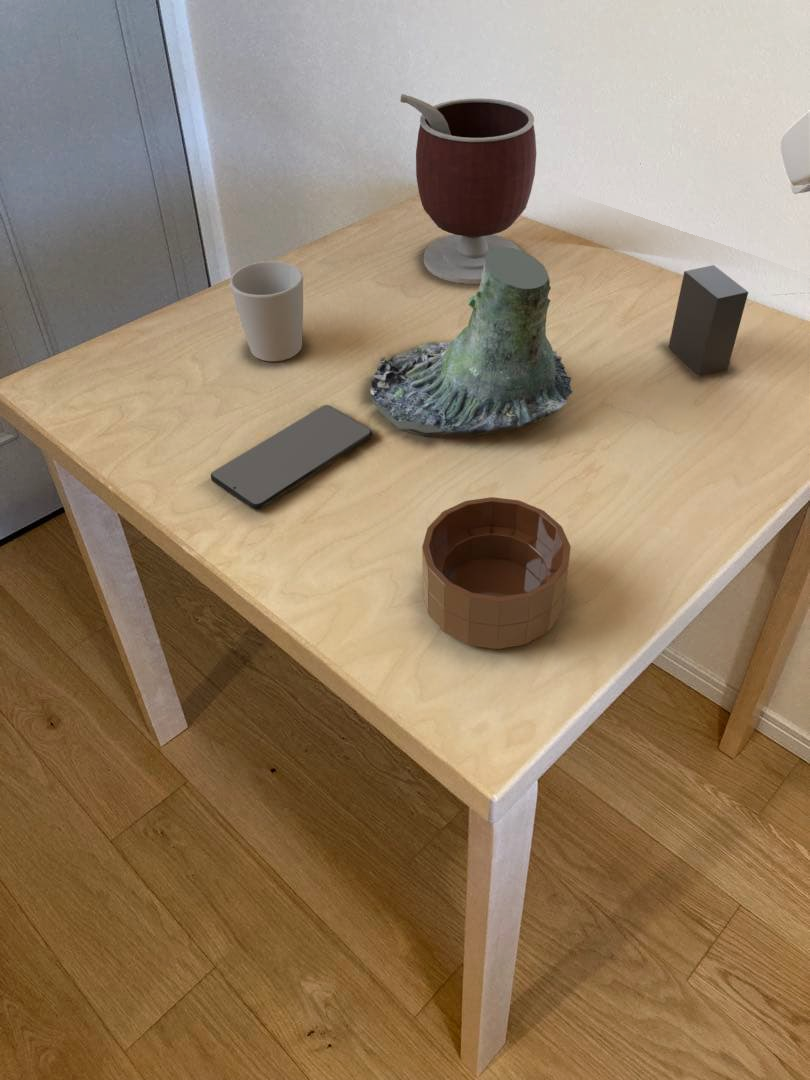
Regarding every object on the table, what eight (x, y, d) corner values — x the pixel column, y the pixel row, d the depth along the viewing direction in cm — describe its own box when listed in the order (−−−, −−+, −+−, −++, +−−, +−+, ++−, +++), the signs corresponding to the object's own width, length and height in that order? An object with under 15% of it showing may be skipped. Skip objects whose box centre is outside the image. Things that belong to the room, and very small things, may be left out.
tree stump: (418, 330, 102) (459, 181, 89) (574, 410, 98) (641, 268, 85) (335, 409, 90) (368, 251, 77) (510, 504, 86) (577, 355, 73)
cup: (240, 370, 96) (227, 298, 90) (243, 321, 103) (232, 252, 97) (311, 365, 96) (303, 293, 90) (309, 317, 104) (302, 247, 98)
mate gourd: (518, 232, 118) (530, 67, 104) (536, 284, 108) (551, 109, 94) (401, 238, 117) (396, 73, 103) (408, 291, 107) (404, 117, 93)
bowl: (539, 542, 76) (545, 489, 72) (580, 640, 68) (589, 587, 64) (412, 561, 75) (411, 508, 71) (439, 663, 67) (440, 611, 63)
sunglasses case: (696, 341, 98) (713, 264, 92) (727, 369, 94) (748, 291, 88) (668, 347, 97) (684, 271, 91) (698, 376, 93) (718, 298, 87)
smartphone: (374, 430, 86) (255, 506, 79) (375, 437, 87) (257, 514, 79) (325, 402, 90) (206, 473, 82) (326, 409, 90) (208, 480, 83)
